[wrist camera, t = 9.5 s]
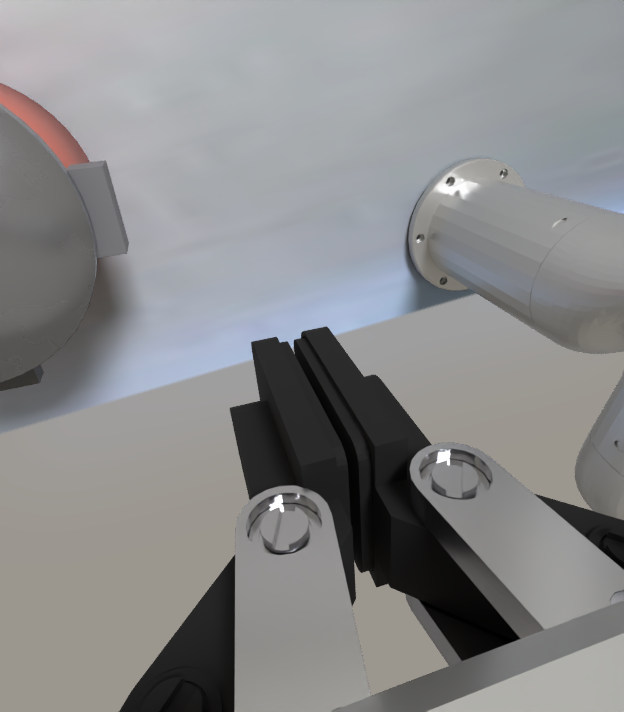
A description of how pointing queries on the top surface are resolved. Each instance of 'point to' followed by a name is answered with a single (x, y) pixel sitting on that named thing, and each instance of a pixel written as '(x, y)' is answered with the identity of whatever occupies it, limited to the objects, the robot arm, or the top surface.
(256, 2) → the top surface
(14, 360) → the cooker lid
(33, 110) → the cooker pot
